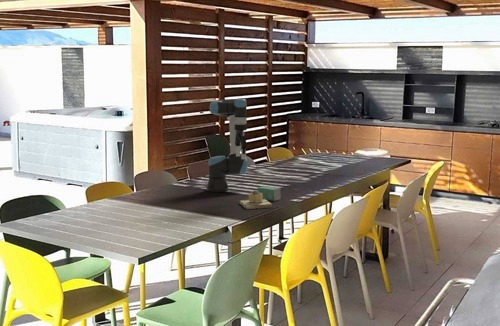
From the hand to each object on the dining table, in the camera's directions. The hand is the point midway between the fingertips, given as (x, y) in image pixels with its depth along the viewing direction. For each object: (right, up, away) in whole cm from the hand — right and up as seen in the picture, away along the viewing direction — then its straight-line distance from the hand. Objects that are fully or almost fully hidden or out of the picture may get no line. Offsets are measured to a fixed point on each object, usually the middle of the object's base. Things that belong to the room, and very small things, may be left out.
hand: (240, 157), depth 376 cm
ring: (+9, -26, -14) cm, 31 cm away
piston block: (+9, -29, -14) cm, 34 cm away
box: (+18, -26, +5) cm, 32 cm away
